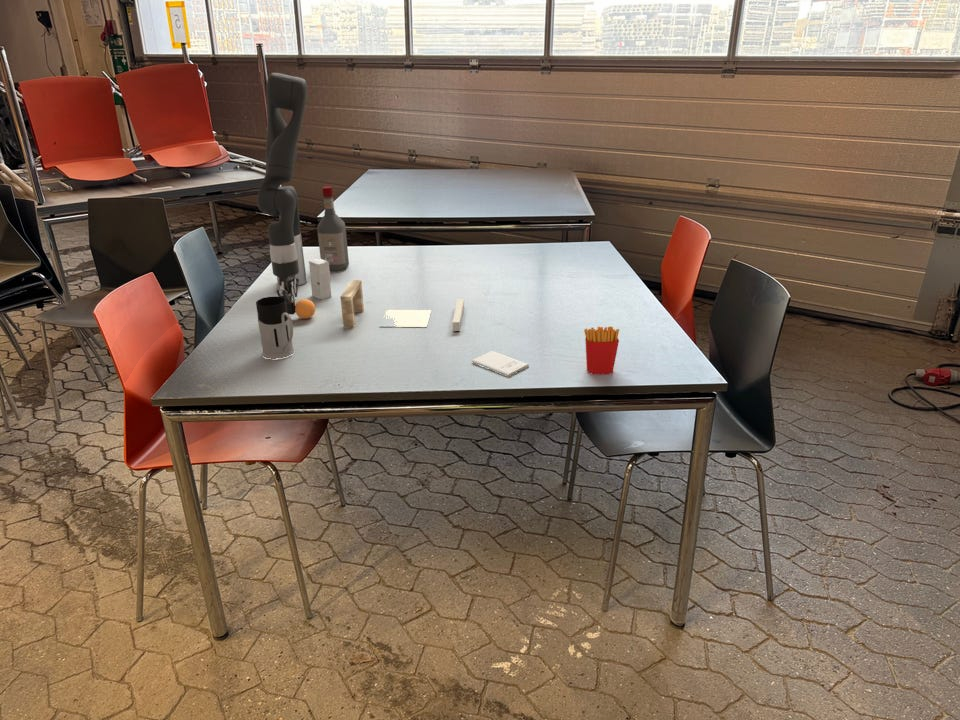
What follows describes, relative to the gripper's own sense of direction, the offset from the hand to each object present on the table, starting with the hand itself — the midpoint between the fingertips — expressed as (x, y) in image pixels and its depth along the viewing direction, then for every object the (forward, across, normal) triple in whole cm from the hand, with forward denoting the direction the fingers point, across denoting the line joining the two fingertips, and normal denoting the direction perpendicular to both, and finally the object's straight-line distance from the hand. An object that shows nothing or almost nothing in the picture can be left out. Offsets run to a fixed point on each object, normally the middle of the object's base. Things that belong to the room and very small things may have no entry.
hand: (291, 313), depth 202 cm
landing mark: (+2, -2, +35) cm, 35 cm away
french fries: (+2, +30, +90) cm, 95 cm away
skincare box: (+2, -21, +3) cm, 21 cm away
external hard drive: (+3, +28, +65) cm, 71 cm away
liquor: (+2, -52, -1) cm, 52 cm away
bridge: (+2, -2, +19) cm, 19 cm away
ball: (-1, -1, +4) cm, 4 cm away
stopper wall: (+2, -3, +51) cm, 51 cm away
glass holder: (+2, +27, +7) cm, 28 cm away
